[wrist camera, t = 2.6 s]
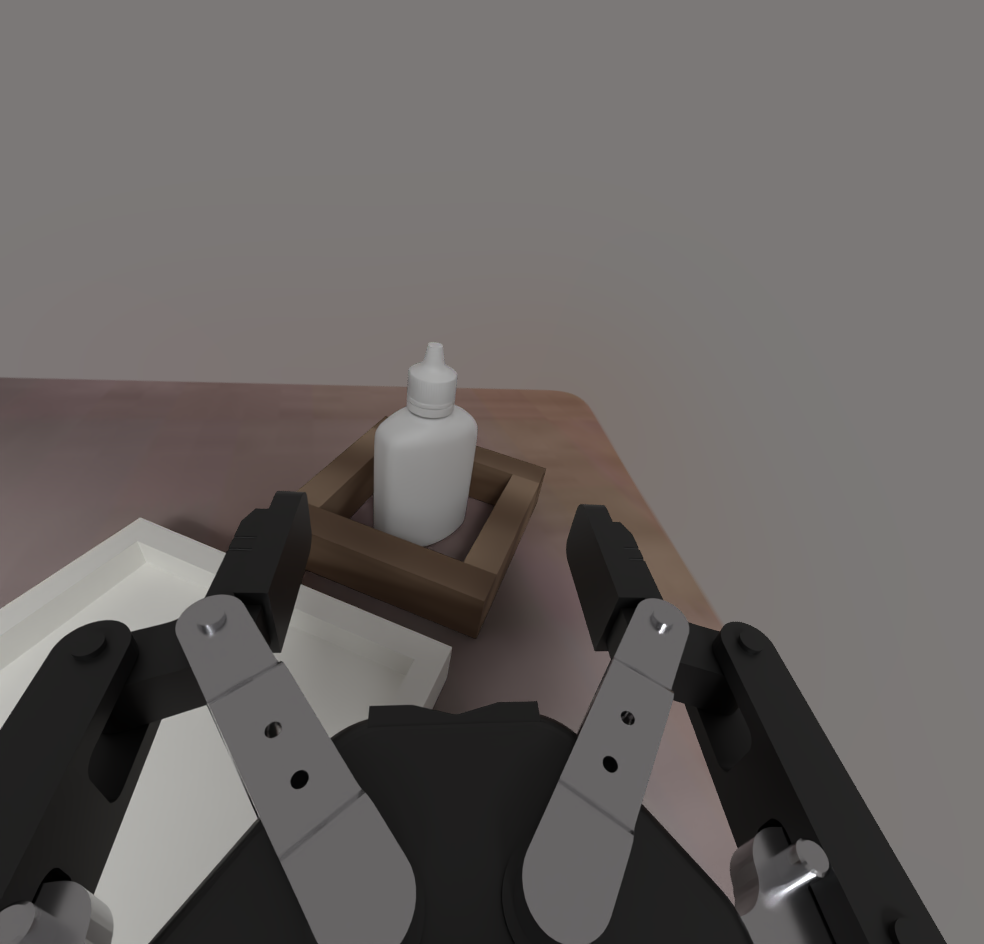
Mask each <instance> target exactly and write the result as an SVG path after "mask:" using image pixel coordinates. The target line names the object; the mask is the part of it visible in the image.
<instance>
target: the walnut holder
mask: <svg viewBox="0 0 984 944" xmlns="http://www.w3.org/2000/svg"><path fill="white" fill-rule="evenodd" d="M387 418H388V417H387V416H385V417H384V418H383V419H382V420H381V421H379V422H378V423H377V424H376V425H375V426H373V427H372V428H371V429H370V430H369V431H368V432H366V433H365V434H364V435H363V436H362V437H361V438H359V439H358V440H357V441H356V442H355V443H353V444H352V445H351V446H350V447H349V448H348V449H346V450H345V451H344V452H343V453H342V454H340V455H339V456H338V457H337V458H336V459H335V460H333V461H332V462H331V463H330V464H329V465H327V466H326V467H325V468H324V469H323V470H322V471H320V472H319V473H318V474H317V475H316V476H315V477H313V478H312V479H311V480H310V481H309V482H307V483H306V484H305V485H304V486H303V487H302V488H300V489H299V490H298V491H297V492H306V494H307V498H308V506H309V514H310V523H311V531H312V541H311V549H310V554H309V557H308V561H307V564H306V568H305V570H308V571H310V572H313V573H315V574H318V575H320V576H323V577H325V578H328V579H330V580H332V581H335V582H337V583H340V584H342V585H345V586H347V587H350V588H352V589H354V590H357V591H359V592H362V593H364V594H367V595H369V596H372V597H374V598H377V599H379V600H381V601H384V602H386V603H389V604H391V605H394V606H396V607H399V608H401V609H404V610H406V611H408V612H411V613H413V614H416V615H418V616H421V617H423V618H426V619H428V620H431V621H433V622H435V623H438V624H440V625H443V626H445V627H448V628H450V629H453V630H455V631H458V632H460V633H462V634H465V635H467V636H470V637H472V638H475V639H476V638H477V636H478V634H479V631H480V629H481V627H482V625H483V622H484V620H485V618H486V616H487V613H488V611H489V609H490V607H491V604H492V602H493V600H494V598H495V596H496V593H497V591H498V589H499V587H500V584H501V582H502V580H503V578H504V575H505V573H506V571H507V569H508V566H509V564H510V562H511V560H512V557H513V555H514V553H515V551H516V548H517V546H518V544H519V542H520V539H521V537H522V535H523V533H524V530H525V528H526V526H527V524H528V521H529V519H530V517H531V515H532V513H533V510H534V508H535V506H536V504H537V500H538V497H539V493H540V489H541V486H542V482H543V478H544V475H545V471H546V468H543V467H540V466H537V465H534V464H531V463H528V462H524V461H521V460H518V459H515V458H512V457H509V456H506V455H503V454H500V453H497V452H494V451H491V450H488V449H485V448H482V447H479V446H476V449H475V456H474V462H473V469H472V476H471V482H470V488H469V495H468V496H469V497H472V498H474V499H477V500H480V501H483V502H486V503H489V504H492V505H494V506H495V507H494V509H493V510H492V512H491V514H490V516H489V518H488V519H487V521H486V523H485V525H484V526H483V528H482V530H481V532H480V534H479V535H478V537H477V539H476V541H475V542H474V544H473V546H472V548H471V550H470V551H469V553H468V555H467V557H466V559H465V560H464V562H462V561H459V560H457V559H454V558H451V557H449V556H446V555H443V554H441V553H438V552H435V551H433V550H430V549H427V548H425V547H422V546H419V545H417V544H414V543H412V542H409V541H406V540H404V539H401V538H398V537H396V536H393V535H390V534H388V533H385V532H382V531H380V530H377V529H374V528H372V527H369V526H366V525H364V524H361V523H359V522H356V521H353V520H351V519H349V518H350V517H351V516H352V515H353V514H354V513H355V512H356V511H357V510H358V509H359V508H360V507H361V506H362V505H363V504H364V503H365V501H366V500H367V499H368V498H369V497H370V496H371V495H372V494H373V493H374V441H375V432H376V430H377V428H378V427H379V425H380V424H381V423H382V422H383V421H384V420H386V419H387Z"/></svg>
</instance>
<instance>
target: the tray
mask: <svg viewBox="0 0 984 944" xmlns="http://www.w3.org/2000/svg"><path fill="white" fill-rule="evenodd" d="M225 554H226V553H224V552H222V551H220V550H217V549H215V548H212V547H210V546H208V545H205V544H203V543H200V542H198V541H196V540H193V539H191V538H188V537H186V536H184V535H181V534H179V533H176V532H174V531H171V530H169V529H167V528H164V527H162V526H159V525H157V524H155V523H152V522H150V521H147V520H145V519H143V518H139V519H137V520H136V521H134V522H133V523H131V524H130V525H128V526H126V527H125V528H123V529H122V530H120V531H119V532H117V533H116V534H114V535H113V536H111V537H110V538H108V539H107V540H105V541H104V542H102V543H100V544H99V545H97V546H96V547H94V548H93V549H91V550H90V551H88V552H87V553H85V554H84V555H82V556H81V557H79V558H78V559H76V560H74V561H73V562H71V563H70V564H68V565H67V566H65V567H64V568H62V569H61V570H59V571H58V572H56V573H55V574H53V575H52V576H50V577H48V578H47V579H45V580H44V581H42V582H41V583H39V584H38V585H36V586H35V587H33V588H32V589H30V590H29V591H27V592H26V593H24V594H22V595H21V596H19V597H18V598H16V599H15V600H13V601H12V602H10V603H9V604H7V605H6V606H4V607H3V608H1V609H0V729H1V727H2V726H3V724H4V723H5V721H6V720H7V718H8V717H9V715H10V714H11V712H12V710H13V709H14V707H15V706H16V704H17V703H18V701H19V700H20V698H21V696H22V695H23V693H24V692H25V690H26V689H27V687H28V686H29V684H30V682H31V681H32V679H33V678H34V676H35V675H36V673H37V672H38V670H39V668H40V667H41V665H42V664H43V662H44V661H45V659H46V658H47V656H48V654H49V653H50V651H51V650H52V649H53V647H54V646H55V645H56V644H57V643H58V642H59V641H60V640H61V639H62V638H63V637H64V636H66V635H67V634H69V633H70V632H72V631H73V630H75V629H77V628H79V627H81V626H84V625H86V624H89V623H92V622H96V621H102V620H115V621H119V622H122V623H124V624H125V625H127V626H128V628H129V629H130V631H135V630H139V629H144V628H148V627H152V626H156V625H160V624H164V623H167V622H171V621H173V620H176V619H178V618H179V617H180V615H181V614H182V613H183V612H184V610H185V609H187V608H188V607H189V606H190V605H192V604H193V603H195V602H197V601H198V600H200V599H203V598H204V597H205V596H206V594H207V592H208V590H209V588H210V586H211V584H212V581H213V579H214V577H215V575H216V573H217V571H218V569H219V567H220V565H221V563H222V561H223V558H224V556H225ZM451 652H452V647H451V646H449V645H446V644H444V643H441V642H439V641H436V640H434V639H432V638H429V637H427V636H424V635H422V634H420V633H417V632H415V631H412V630H410V629H408V628H405V627H403V626H400V625H398V624H396V623H393V622H391V621H388V620H386V619H383V618H381V617H379V616H376V615H374V614H371V613H369V612H367V611H364V610H362V609H359V608H357V607H355V606H352V605H350V604H347V603H345V602H343V601H340V600H338V599H335V598H333V597H330V596H328V595H326V594H323V593H321V592H318V591H316V590H314V589H311V588H309V587H306V586H304V585H302V584H301V585H300V589H299V592H298V596H297V599H296V603H295V606H294V610H293V613H292V617H291V620H290V624H289V627H288V631H287V634H286V637H285V641H284V644H283V648H282V651H281V653H273V654H274V656H275V658H276V659H277V660H278V662H280V661H282V662H283V663H284V664H285V665H286V666H287V668H288V669H289V671H290V673H291V674H292V676H293V678H294V679H295V681H296V683H297V684H298V686H299V688H300V689H301V691H302V692H303V694H304V696H305V697H306V699H307V701H308V702H309V704H310V706H311V707H312V709H313V711H314V712H315V714H316V716H317V717H318V719H319V721H320V722H321V724H322V726H323V727H324V729H325V730H326V732H327V734H328V735H329V737H330V738H331V737H333V736H334V735H335V734H337V733H338V732H340V731H341V730H343V729H345V728H347V727H348V726H350V725H353V724H355V723H357V722H360V721H363V720H366V719H368V715H369V706H384V705H416V706H420V707H424V708H428V709H433V707H434V705H435V702H436V700H437V698H438V696H439V694H440V692H441V690H442V688H443V685H444V683H445V681H446V679H447V675H448V669H449V663H450V658H451ZM256 819H257V817H256V814H255V812H254V810H253V808H252V806H251V803H250V801H249V799H248V797H247V794H246V792H245V790H244V788H243V785H242V783H241V781H240V779H239V776H238V774H237V772H236V770H235V767H234V765H233V763H232V761H231V758H230V756H229V754H228V752H227V749H226V747H225V745H224V743H223V741H222V738H221V736H220V734H219V732H218V730H217V727H216V725H215V723H214V721H213V718H212V716H211V714H210V712H209V710H208V707H207V705H205V706H202V707H199V708H196V709H193V710H190V711H186V712H183V713H180V714H177V715H174V716H171V717H168V718H164V719H162V720H161V723H160V725H159V728H158V730H157V733H156V736H155V738H154V741H153V743H152V746H151V748H150V751H149V754H148V756H147V759H146V761H145V764H144V766H143V769H142V772H141V774H140V777H139V779H138V782H137V785H136V787H135V790H134V792H133V795H132V797H131V800H130V803H129V805H128V808H127V810H126V813H125V815H124V818H123V821H122V823H121V826H120V828H119V831H118V833H117V836H116V839H115V841H114V844H113V846H112V849H111V851H110V854H109V857H108V859H107V862H106V864H105V867H104V869H103V872H102V875H101V877H100V880H99V882H98V885H97V888H96V890H95V893H94V896H96V897H97V898H98V899H100V900H101V901H102V902H103V903H105V904H106V905H107V906H108V908H109V909H110V911H111V913H112V916H113V922H114V929H113V937H112V941H111V944H148V943H149V942H150V941H151V940H152V939H153V937H154V936H155V935H156V934H157V933H158V932H159V931H160V929H161V928H162V927H163V926H164V925H165V924H166V923H167V921H168V920H169V919H170V918H171V917H172V916H173V915H174V913H175V912H176V911H177V910H178V909H179V908H180V907H181V905H182V904H183V903H184V902H185V901H186V900H187V899H188V897H189V896H190V895H191V894H192V893H193V892H194V890H195V889H196V888H197V887H198V886H199V885H200V884H201V882H202V881H203V880H204V879H205V878H206V877H207V876H208V874H209V873H210V872H211V871H212V870H213V869H214V868H215V866H216V865H217V864H218V863H219V862H220V861H221V860H222V858H223V857H224V856H225V855H226V854H227V853H228V852H229V850H230V849H231V848H232V847H233V846H234V845H235V843H236V842H237V841H238V840H239V839H240V838H241V837H242V835H243V834H244V833H245V832H246V831H247V830H248V829H249V827H250V826H251V825H252V824H253V823H254V822H255V821H256Z"/></svg>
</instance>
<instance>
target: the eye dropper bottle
mask: <svg viewBox="0 0 984 944" xmlns="http://www.w3.org/2000/svg"><path fill="white" fill-rule="evenodd" d="M456 386H457V373H456V371H455V370H454V369H453V368H451V367H450V366H447V365H445V361H444V352H443V345H442V344H440V343H436V342H431V343H429V344H428V347H427V351H426V354H425V358H424V361H423V362H419V363H416V364H414V365H412V366H411V367H410V369H409V370H408V389H407V406H406V407H404V408H402V409H400V410H398V411H397V412H395V413H394V414H392V415H391V416H389V417H388V418H387V419H386V420H384V421H383V422H382V423H381V424H380V425H379V427H378V428H377V430H376V432H375V441H374V529H377V530H380V531H382V532H385V533H388V534H390V535H393V536H396V537H398V538H401V539H404V540H406V541H409V542H412V543H414V544H417V545H419V546H422V547H425V546H428V545H431V544H434V543H436V542H438V541H441V540H442V539H444V538H446V537H448V536H449V535H450V534H452V533H453V532H454V531H456V530H457V529H458V528H459V527H460V526H461V524H462V523H463V521H464V518H465V514H466V508H467V501H468V495H469V488H470V482H471V476H472V469H473V462H474V456H475V449H476V441H477V434H478V427H477V424H476V422H475V420H474V418H473V417H472V416H471V415H470V414H469V413H468V412H466V411H465V410H464V409H462V408H461V407H459V406H456V405H454V403H455V395H456Z"/></svg>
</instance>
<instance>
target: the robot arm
mask: <svg viewBox="0 0 984 944" xmlns="http://www.w3.org/2000/svg"><path fill="white" fill-rule="evenodd" d="M311 541H312V531H311V523H310V514H309V506H308V498H307V494H306V492H290V491H277V492H276V493H275V496H274V498H273V500H272V503H271V505H270V507H269V509H255V510H253V511H252V512H251V513H250V514H249V515H248V516H247V517H245V518H244V519H243V520H242V521H241V523H240V525H239V527H238V529H237V531H236V533H235V536H234V539H233V540H232V542H231V544H230V546H229V550H228V551H227V552H226V554H225V556H224V558H223V561H222V563H221V565H220V567H219V569H218V571H217V573H216V575H215V577H214V579H213V581H212V584H211V586H210V588H209V590H208V592H207V594H206V596H205V597H204V598H203V599H200V600H198V601H197V602H195V603H193V604H192V605H190V606H189V607H188V608H187V609H185V610H184V612H183V613H182V614H181V615H180V617H179V618H178V619H176V620H173V621H171V622H167V623H164V624H160V625H156V626H152V627H148V628H144V629H139V630H135V631H130V629H129V628H128V626H127V625H125V624H124V623H122V622H119V621H115V620H102V621H96V622H92V623H89V624H86V625H84V626H81V627H79V628H77V629H75V630H73V631H72V632H70V633H69V634H67V635H66V636H64V637H63V638H62V639H61V640H60V641H59V642H58V643H57V644H56V645H55V646H54V647H53V649H52V650H51V651H50V653H49V654H48V656H47V658H46V659H45V661H44V662H43V664H42V665H41V667H40V668H39V670H38V672H37V673H36V675H35V676H34V678H33V679H32V681H31V682H30V684H29V686H28V687H27V689H26V690H25V692H24V693H23V695H22V696H21V698H20V700H19V701H18V703H17V704H16V706H15V707H14V709H13V710H12V712H11V714H10V715H9V717H8V718H7V720H6V721H5V723H4V724H3V726H2V727H1V729H0V944H111V941H112V937H113V929H114V922H113V916H112V913H111V911H110V909H109V908H108V906H107V905H106V904H105V903H103V902H102V901H101V900H100V899H98V898H97V897H96V896H94V893H95V890H96V888H97V885H98V882H99V880H100V877H101V875H102V872H103V869H104V867H105V864H106V862H107V859H108V857H109V854H110V851H111V849H112V846H113V844H114V841H115V839H116V836H117V833H118V831H119V828H120V826H121V823H122V821H123V818H124V815H125V813H126V810H127V808H128V805H129V803H130V800H131V797H132V795H133V792H134V790H135V787H136V785H137V782H138V779H139V777H140V774H141V772H142V769H143V766H144V764H145V761H146V759H147V756H148V754H149V751H150V748H151V746H152V743H153V741H154V738H155V736H156V733H157V730H158V728H159V725H160V723H161V720H162V719H164V718H168V717H171V716H174V715H177V714H180V713H183V712H186V711H190V710H193V709H196V708H199V707H202V706H205V705H207V707H208V710H209V712H210V714H211V716H212V718H213V721H214V723H215V725H216V727H217V730H218V732H219V734H220V736H221V738H222V741H223V743H224V745H225V747H226V749H227V752H228V754H229V756H230V758H231V761H232V763H233V765H234V767H235V770H236V772H237V774H238V776H239V779H240V781H241V783H242V785H243V788H244V790H245V792H246V794H247V797H248V799H249V801H250V803H251V806H252V808H253V810H254V812H255V814H256V817H257V819H256V821H255V822H254V823H253V824H252V825H251V826H250V827H249V829H248V830H247V831H246V832H245V833H244V834H243V835H242V837H241V838H240V839H239V840H238V841H237V842H236V843H235V845H234V846H233V847H232V848H231V849H230V850H229V852H228V853H227V854H226V855H225V856H224V857H223V858H222V860H221V861H220V862H219V863H218V864H217V865H216V866H215V868H214V869H213V870H212V871H211V872H210V873H209V874H208V876H207V877H206V878H205V879H204V880H203V881H202V882H201V884H200V885H199V886H198V887H197V888H196V889H195V890H194V892H193V893H192V894H191V895H190V896H189V897H188V899H187V900H186V901H185V902H184V903H183V904H182V905H181V907H180V908H179V909H178V910H177V911H176V912H175V913H174V915H173V916H172V917H171V918H170V919H169V920H168V921H167V923H166V924H165V925H164V926H163V927H162V928H161V929H160V931H159V932H158V933H157V934H156V935H155V936H154V937H153V939H152V940H151V941H150V942H149V943H148V944H947V943H946V942H945V940H944V938H943V936H942V935H941V933H940V931H939V930H938V928H937V926H936V925H935V923H934V921H933V919H932V918H931V916H930V914H929V912H928V911H927V909H926V907H925V905H924V904H923V902H922V900H921V899H920V897H919V895H918V893H917V892H916V890H915V888H914V887H913V885H912V883H911V881H910V880H909V878H908V876H907V874H906V873H905V871H904V869H903V868H902V866H901V864H900V862H899V861H898V859H897V857H896V856H895V854H894V852H893V850H892V849H891V847H890V845H889V843H888V842H887V840H886V838H885V836H884V835H883V833H882V831H881V830H880V828H879V826H878V824H877V823H876V821H875V819H874V817H873V816H872V814H871V812H870V811H869V809H868V807H867V806H866V804H865V802H864V800H863V799H862V797H861V795H860V793H859V792H858V790H857V788H856V786H855V785H854V783H853V781H852V780H851V778H850V776H849V774H848V773H847V771H846V770H845V768H844V766H843V764H842V762H841V761H840V759H839V757H838V755H837V754H836V752H835V750H834V749H833V747H832V745H831V743H830V742H829V740H828V738H827V736H826V735H825V733H824V731H823V730H822V728H821V726H820V725H819V723H818V721H817V719H816V718H815V716H814V714H813V712H812V711H811V709H810V707H809V705H808V704H807V702H806V701H805V699H804V697H803V695H802V694H801V692H800V690H799V688H798V687H797V685H796V683H795V681H794V680H793V678H792V676H791V675H790V673H789V671H788V669H787V668H786V666H785V664H784V662H783V661H782V659H781V657H780V656H779V654H778V652H777V650H776V649H775V647H774V645H773V644H772V642H771V641H770V640H769V639H768V638H767V637H766V636H765V635H764V634H763V633H762V632H761V631H759V630H758V629H756V628H754V627H752V626H751V625H748V624H745V623H742V622H730V623H727V624H725V625H724V626H723V628H722V629H721V631H720V632H719V631H716V630H712V629H709V628H705V627H702V626H698V625H695V624H692V623H689V622H688V621H687V619H686V618H685V616H684V615H683V613H682V612H681V611H680V610H679V609H678V608H676V607H675V606H674V605H672V604H670V603H669V602H666V601H664V600H663V598H662V596H661V594H660V592H659V590H658V588H657V586H656V584H655V582H654V579H653V577H652V575H651V573H650V571H649V569H648V567H647V565H646V563H645V561H643V556H642V554H641V552H640V550H638V546H637V544H636V541H635V539H634V537H633V535H632V534H631V533H630V532H629V531H628V530H627V529H626V528H625V527H624V526H623V525H622V524H621V523H620V522H612V519H611V517H610V515H609V513H608V510H607V508H606V507H605V506H604V505H586V504H580V505H579V506H578V508H577V510H576V514H575V517H574V520H573V523H572V526H571V530H570V533H569V536H568V539H567V545H566V554H567V560H568V563H569V567H570V570H571V573H572V577H573V580H574V583H575V587H576V590H577V593H578V597H579V600H580V603H581V607H582V610H583V613H584V617H585V620H586V624H587V627H588V630H589V634H590V637H591V640H592V644H593V647H594V650H595V651H608V652H609V655H610V658H611V661H610V663H609V665H608V667H607V669H606V671H605V673H604V676H603V678H602V680H601V682H600V684H599V686H598V689H597V691H596V693H595V695H594V697H593V699H592V702H591V704H590V706H589V708H588V710H587V712H586V715H585V717H584V719H583V721H582V723H581V725H580V727H579V729H578V732H577V734H576V733H574V732H573V731H572V730H571V729H569V728H568V727H566V726H565V725H563V724H562V723H560V722H558V721H556V720H554V719H551V718H549V717H546V716H543V715H540V714H539V709H538V703H537V701H534V702H498V703H494V704H491V705H488V706H484V707H481V708H478V709H475V710H471V711H468V712H465V713H461V714H449V713H445V712H441V711H437V710H432V709H428V708H424V707H420V706H416V705H384V706H369V715H368V719H366V720H363V721H360V722H357V723H355V724H353V725H350V726H348V727H347V728H345V729H343V730H341V731H340V732H338V733H337V734H335V735H334V736H333V737H331V738H330V737H329V735H328V734H327V732H326V730H325V729H324V727H323V726H322V724H321V722H320V721H319V719H318V717H317V716H316V714H315V712H314V711H313V709H312V707H311V706H310V704H309V702H308V701H307V699H306V697H305V696H304V694H303V692H302V691H301V689H300V688H299V686H298V684H297V683H296V681H295V679H294V678H293V676H292V674H291V673H290V671H289V669H288V668H287V666H286V665H285V664H284V663H283V662H282V661H280V662H278V660H277V659H276V658H275V656H274V654H273V653H281V651H282V648H283V644H284V641H285V637H286V634H287V631H288V627H289V624H290V620H291V617H292V613H293V610H294V606H295V603H296V599H297V596H298V592H299V589H300V585H301V582H302V578H303V575H304V571H305V568H306V564H307V561H308V557H309V554H310V549H311ZM673 700H674V701H678V702H681V703H684V704H685V706H686V709H687V712H688V715H689V717H690V720H691V723H692V725H693V728H694V731H695V734H696V736H697V739H698V742H699V744H700V747H701V750H702V753H703V755H704V758H705V761H706V763H707V766H708V769H709V772H710V774H711V777H712V780H713V782H714V785H715V788H716V791H717V793H718V796H719V799H720V801H721V804H722V807H723V810H724V812H725V815H726V818H727V820H728V823H729V826H730V829H731V831H732V834H733V837H734V839H735V842H736V845H737V848H738V849H736V851H735V852H734V853H733V855H732V858H731V862H730V876H731V881H732V885H733V893H734V897H735V907H734V906H733V904H732V903H731V901H730V900H729V899H728V897H727V896H726V895H725V894H724V892H723V891H722V890H721V889H720V888H719V887H718V886H717V884H716V883H715V882H714V881H713V880H712V879H711V878H710V877H709V876H708V875H707V874H706V873H705V871H704V870H703V869H702V868H701V867H700V866H699V865H698V864H697V863H696V862H695V861H694V860H693V858H692V857H691V856H690V855H689V854H688V853H687V852H686V851H685V850H684V849H683V848H682V847H681V846H680V844H679V843H678V842H677V841H676V840H675V839H674V838H673V837H672V836H671V835H670V834H669V833H668V831H667V830H666V829H665V828H664V827H663V826H662V825H661V824H660V823H659V822H658V821H657V820H656V818H655V817H654V816H653V815H652V814H651V813H650V812H649V811H648V810H647V809H646V808H645V807H644V805H643V804H642V800H643V797H644V794H645V791H646V787H647V784H648V781H649V777H650V774H651V771H652V768H653V764H654V761H655V758H656V754H657V751H658V748H659V744H660V741H661V738H662V735H663V731H664V728H665V725H666V721H667V718H668V715H669V711H670V708H671V705H672V702H673Z"/></svg>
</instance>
